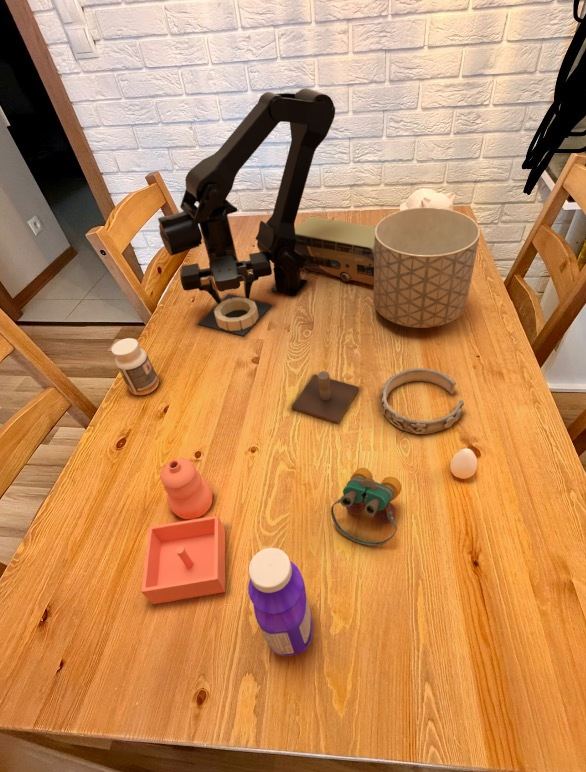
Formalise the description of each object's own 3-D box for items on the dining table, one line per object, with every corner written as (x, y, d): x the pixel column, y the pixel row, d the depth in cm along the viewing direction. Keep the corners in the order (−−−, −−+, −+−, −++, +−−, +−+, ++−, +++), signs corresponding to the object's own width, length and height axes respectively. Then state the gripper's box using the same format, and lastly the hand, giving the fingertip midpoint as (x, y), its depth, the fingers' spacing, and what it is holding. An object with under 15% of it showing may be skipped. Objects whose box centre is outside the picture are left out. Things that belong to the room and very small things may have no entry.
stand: (314, 377, 87) (312, 352, 82) (358, 389, 84) (358, 365, 79) (292, 409, 82) (287, 385, 77) (338, 424, 78) (336, 399, 74)
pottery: (225, 591, 60) (206, 559, 53) (152, 604, 60) (123, 572, 53) (224, 479, 72) (209, 440, 65) (164, 489, 72) (142, 450, 65)
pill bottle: (163, 376, 90) (145, 335, 83) (153, 397, 86) (134, 356, 79) (136, 375, 91) (116, 335, 84) (125, 396, 87) (103, 356, 80)
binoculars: (397, 539, 66) (413, 476, 63) (381, 572, 58) (397, 502, 55) (337, 517, 69) (349, 456, 66) (313, 546, 61) (326, 478, 58)
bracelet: (404, 369, 86) (405, 356, 84) (474, 395, 81) (477, 383, 78) (366, 415, 79) (366, 403, 77) (439, 448, 73) (442, 436, 71)
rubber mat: (228, 295, 108) (228, 294, 108) (272, 305, 104) (272, 304, 103) (198, 324, 101) (197, 323, 101) (243, 337, 97) (243, 335, 96)
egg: (472, 485, 68) (479, 463, 64) (447, 478, 70) (452, 456, 66) (476, 465, 71) (482, 443, 67) (451, 459, 72) (456, 437, 68)
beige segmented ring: (235, 302, 105) (233, 293, 103) (266, 314, 101) (265, 305, 99) (207, 322, 100) (205, 313, 98) (239, 335, 96) (237, 326, 94)
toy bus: (377, 291, 104) (376, 249, 97) (293, 272, 114) (287, 233, 107) (397, 270, 109) (397, 228, 102) (315, 253, 119) (310, 215, 112)
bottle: (267, 600, 59) (240, 536, 46) (311, 595, 59) (296, 530, 46) (267, 662, 54) (238, 609, 41) (315, 657, 54) (300, 602, 41)
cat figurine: (388, 230, 123) (391, 163, 111) (427, 225, 124) (434, 158, 111) (414, 280, 106) (421, 207, 94) (458, 273, 107) (471, 201, 94)
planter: (361, 330, 95) (360, 248, 82) (387, 281, 107) (391, 202, 93) (454, 347, 90) (470, 262, 76) (471, 294, 101) (487, 212, 88)
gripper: (171, 266, 85) (194, 334, 97) (270, 249, 87) (281, 317, 99) (171, 239, 93) (192, 305, 104) (262, 223, 94) (273, 289, 106)
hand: (234, 304), depth 103 cm, fingers closed on beige segmented ring, 5 cm apart
